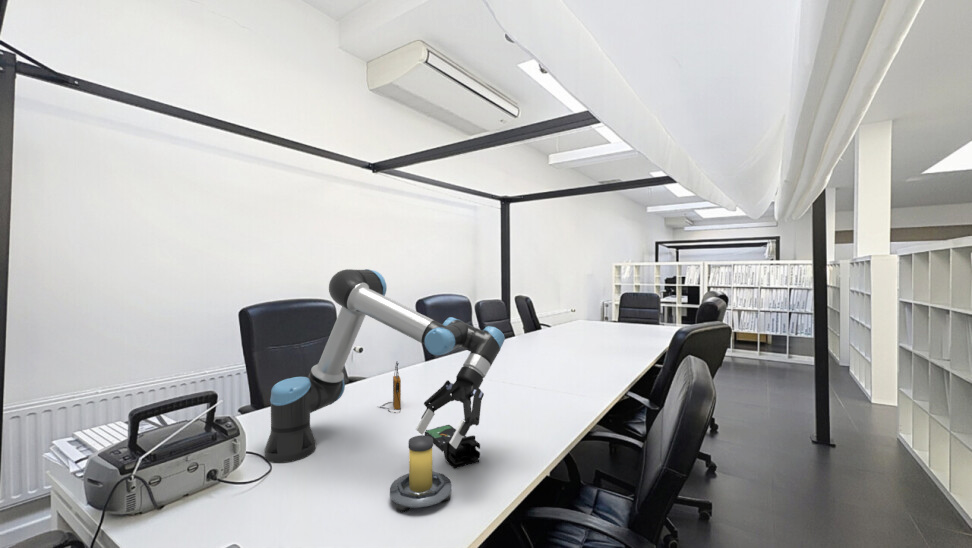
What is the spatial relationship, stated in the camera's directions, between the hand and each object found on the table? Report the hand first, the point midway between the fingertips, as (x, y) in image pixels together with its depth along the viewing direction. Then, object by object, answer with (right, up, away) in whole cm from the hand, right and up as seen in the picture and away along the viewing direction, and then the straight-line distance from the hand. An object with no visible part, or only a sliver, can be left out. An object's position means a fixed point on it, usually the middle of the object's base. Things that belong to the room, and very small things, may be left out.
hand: (435, 438), depth 106 cm
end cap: (+6, -15, +18) cm, 24 cm away
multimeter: (-29, -15, +67) cm, 74 cm away
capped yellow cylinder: (-3, -11, -3) cm, 12 cm away
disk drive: (0, -15, +33) cm, 37 cm away
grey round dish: (-3, -14, -3) cm, 15 cm away
